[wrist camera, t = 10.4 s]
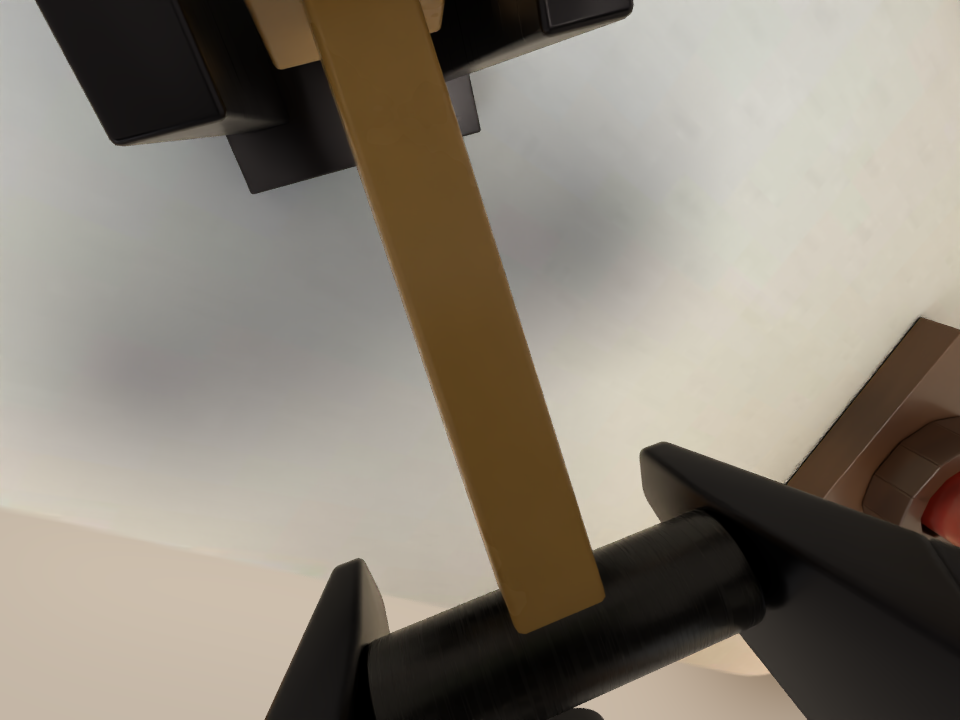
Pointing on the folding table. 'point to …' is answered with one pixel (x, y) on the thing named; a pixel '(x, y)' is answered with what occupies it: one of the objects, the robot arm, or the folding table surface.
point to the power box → (895, 434)
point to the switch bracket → (271, 73)
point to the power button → (945, 511)
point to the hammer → (495, 417)
